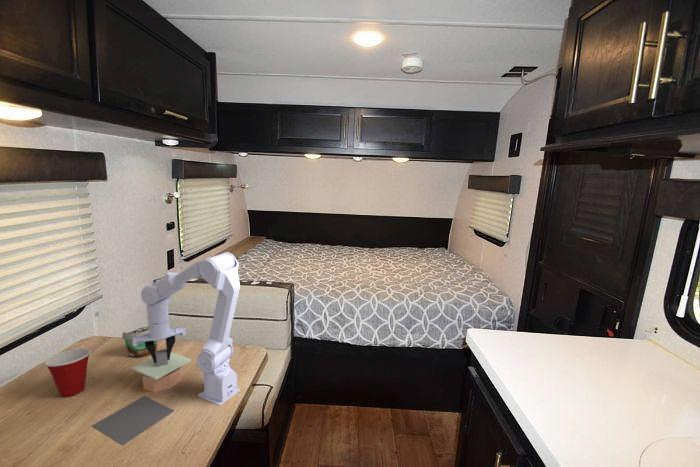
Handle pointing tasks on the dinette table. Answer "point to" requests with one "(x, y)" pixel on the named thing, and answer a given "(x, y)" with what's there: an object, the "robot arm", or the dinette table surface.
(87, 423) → the dinette table surface
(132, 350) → the food container
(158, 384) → the bowl
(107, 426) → the mat
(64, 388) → the plastic cup
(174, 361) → the sheet
